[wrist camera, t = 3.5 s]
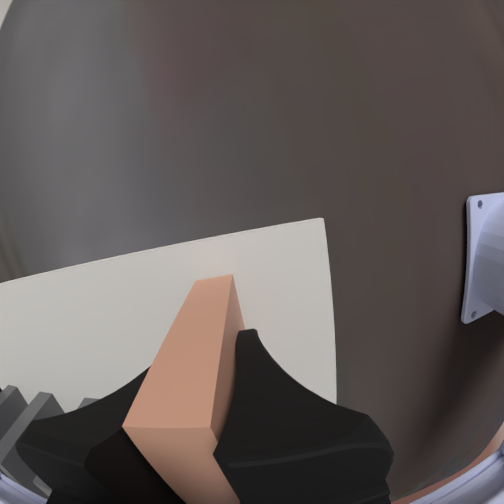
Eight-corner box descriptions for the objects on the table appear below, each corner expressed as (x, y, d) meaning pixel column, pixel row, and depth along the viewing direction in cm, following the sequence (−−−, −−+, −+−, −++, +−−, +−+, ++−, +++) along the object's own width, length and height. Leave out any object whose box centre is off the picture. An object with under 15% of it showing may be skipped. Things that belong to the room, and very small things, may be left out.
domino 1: (17, 386, 14) (-31, 441, 6) (46, 429, 15) (10, 486, 7) (8, 384, 14) (-38, 436, 6) (36, 426, 15) (0, 479, 7)
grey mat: (320, 217, 12) (323, 218, 11) (333, 444, 15) (335, 449, 15) (-38, 293, 12) (-42, 294, 12) (38, 436, 16) (37, 439, 15)
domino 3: (232, 273, 11) (209, 426, 4) (255, 370, 12) (263, 522, 5) (195, 280, 11) (122, 426, 4) (223, 375, 12) (207, 523, 5)
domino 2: (52, 393, 14) (0, 464, 6) (83, 438, 15) (48, 507, 7) (39, 391, 14) (-12, 456, 6) (70, 436, 15) (35, 500, 7)
